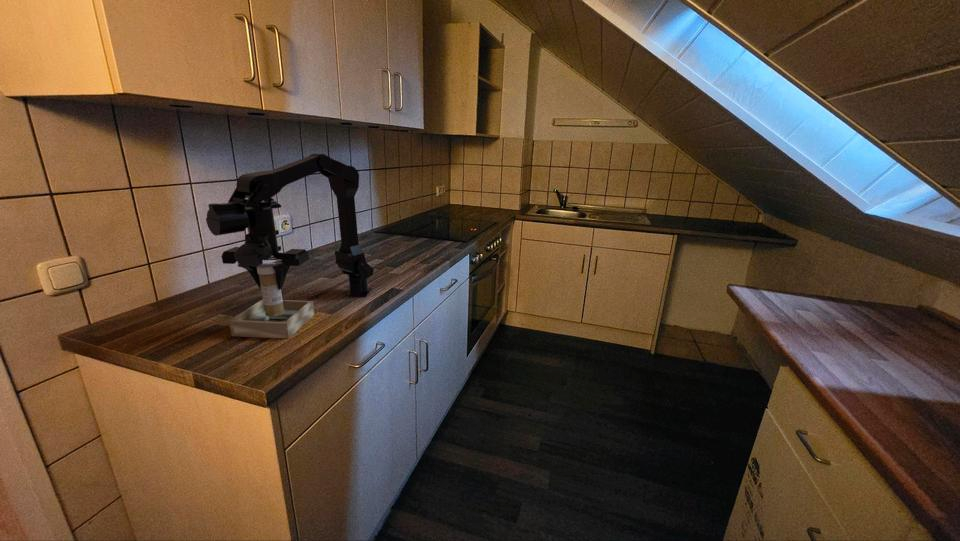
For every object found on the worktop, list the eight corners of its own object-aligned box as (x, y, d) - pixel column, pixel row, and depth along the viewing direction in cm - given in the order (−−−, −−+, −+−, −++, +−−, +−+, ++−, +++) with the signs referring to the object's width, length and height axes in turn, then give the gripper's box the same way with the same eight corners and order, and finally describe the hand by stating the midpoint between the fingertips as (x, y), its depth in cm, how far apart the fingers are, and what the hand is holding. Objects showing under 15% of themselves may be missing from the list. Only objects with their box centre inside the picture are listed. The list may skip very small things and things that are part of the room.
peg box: (264, 312, 105) (262, 299, 103) (314, 314, 104) (312, 301, 103) (231, 336, 91) (229, 321, 90) (289, 338, 91) (286, 323, 90)
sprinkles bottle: (282, 309, 100) (275, 260, 96) (287, 314, 97) (279, 265, 92) (263, 313, 97) (254, 264, 93) (267, 319, 94) (258, 268, 90)
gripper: (198, 234, 82) (212, 299, 87) (282, 237, 82) (291, 302, 87) (231, 224, 93) (242, 283, 98) (306, 226, 93) (313, 285, 98)
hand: (271, 288), depth 95 cm, fingers closed on sprinkles bottle, 4 cm apart
